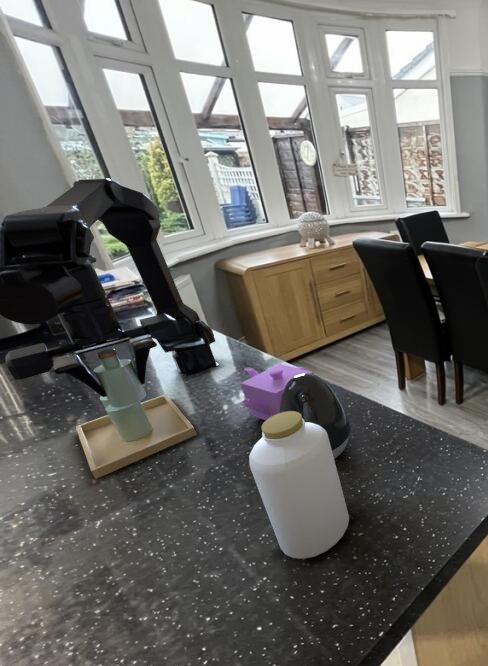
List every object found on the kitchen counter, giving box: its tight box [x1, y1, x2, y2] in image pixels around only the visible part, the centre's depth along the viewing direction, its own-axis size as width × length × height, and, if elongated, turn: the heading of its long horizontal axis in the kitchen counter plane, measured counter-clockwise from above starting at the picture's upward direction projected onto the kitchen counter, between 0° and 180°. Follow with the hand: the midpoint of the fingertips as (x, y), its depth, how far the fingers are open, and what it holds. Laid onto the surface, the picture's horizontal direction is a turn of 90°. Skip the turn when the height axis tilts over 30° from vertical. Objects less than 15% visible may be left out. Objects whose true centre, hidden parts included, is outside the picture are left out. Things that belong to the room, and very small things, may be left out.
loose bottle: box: [93, 348, 147, 407], centre depth 63 cm, size 4×4×9 cm
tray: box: [75, 393, 198, 479], centre depth 71 cm, size 13×18×2 cm
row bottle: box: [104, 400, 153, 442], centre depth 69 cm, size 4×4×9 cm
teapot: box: [240, 363, 315, 421], centre depth 73 cm, size 18×13×10 cm
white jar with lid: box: [248, 411, 350, 560], centre depth 48 cm, size 8×8×18 cm
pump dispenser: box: [279, 373, 352, 460], centre depth 62 cm, size 10×10×15 cm
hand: (124, 389), depth 64 cm, fingers closed on loose bottle, 4 cm apart
